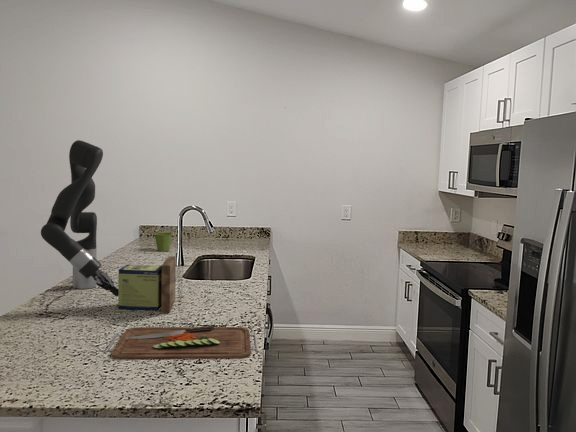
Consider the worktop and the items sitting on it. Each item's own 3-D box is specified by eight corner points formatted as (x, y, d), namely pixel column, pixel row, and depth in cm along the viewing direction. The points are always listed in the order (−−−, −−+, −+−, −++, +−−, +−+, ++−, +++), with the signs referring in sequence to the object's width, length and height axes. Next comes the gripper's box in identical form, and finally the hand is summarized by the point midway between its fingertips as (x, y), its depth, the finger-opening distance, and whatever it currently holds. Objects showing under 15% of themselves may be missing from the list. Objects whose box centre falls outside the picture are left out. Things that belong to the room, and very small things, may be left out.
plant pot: (152, 249, 335) (152, 232, 334) (170, 249, 340) (170, 232, 339) (155, 252, 325) (155, 235, 324) (174, 252, 330) (174, 234, 329)
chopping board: (99, 361, 146) (99, 350, 146) (120, 331, 173) (120, 322, 172) (259, 359, 151) (259, 349, 150) (255, 330, 177) (255, 322, 177)
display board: (161, 313, 193) (161, 265, 191) (167, 299, 213) (168, 256, 211) (169, 313, 193) (170, 265, 192) (175, 299, 213) (175, 256, 211)
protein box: (158, 310, 196) (159, 270, 195) (117, 309, 196) (117, 269, 195) (165, 303, 207) (165, 265, 205) (126, 302, 206) (126, 264, 205)
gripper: (89, 259, 190) (124, 291, 193) (95, 253, 202) (128, 284, 206) (74, 273, 189) (109, 306, 192) (81, 266, 202) (114, 297, 205)
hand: (119, 294), depth 199 cm, fingers closed
